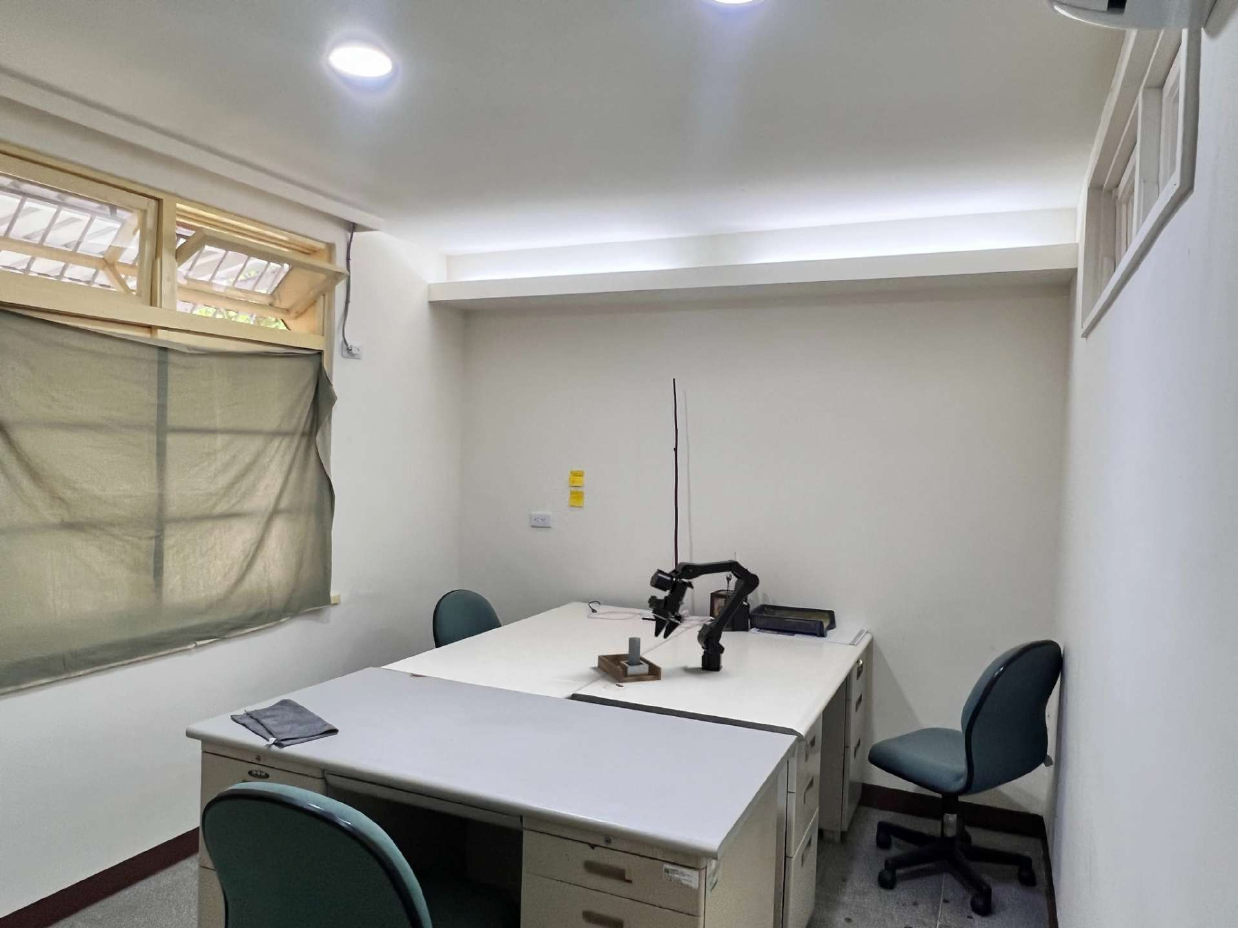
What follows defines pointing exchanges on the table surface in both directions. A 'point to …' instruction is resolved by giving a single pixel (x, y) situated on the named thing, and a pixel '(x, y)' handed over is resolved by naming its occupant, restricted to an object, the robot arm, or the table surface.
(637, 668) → the frame
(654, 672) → the box
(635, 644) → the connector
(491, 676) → the table surface
